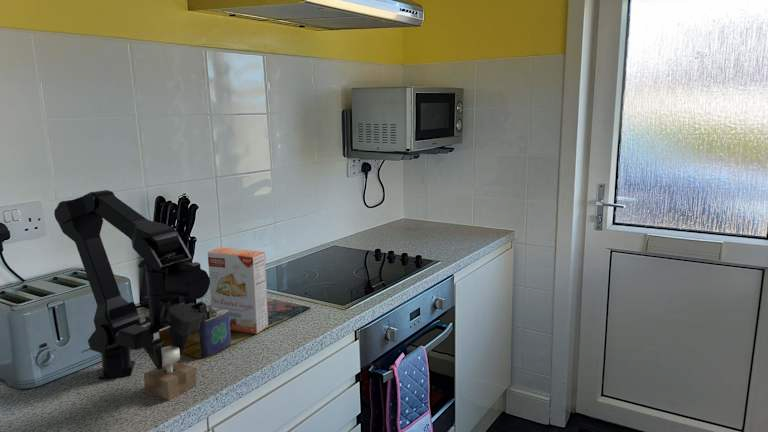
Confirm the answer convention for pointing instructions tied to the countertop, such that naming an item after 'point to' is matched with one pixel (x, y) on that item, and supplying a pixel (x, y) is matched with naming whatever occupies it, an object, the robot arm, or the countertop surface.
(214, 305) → the cracker box
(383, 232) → the countertop surface
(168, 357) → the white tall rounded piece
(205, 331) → the flask
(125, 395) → the countertop surface
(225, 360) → the countertop surface
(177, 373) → the block
